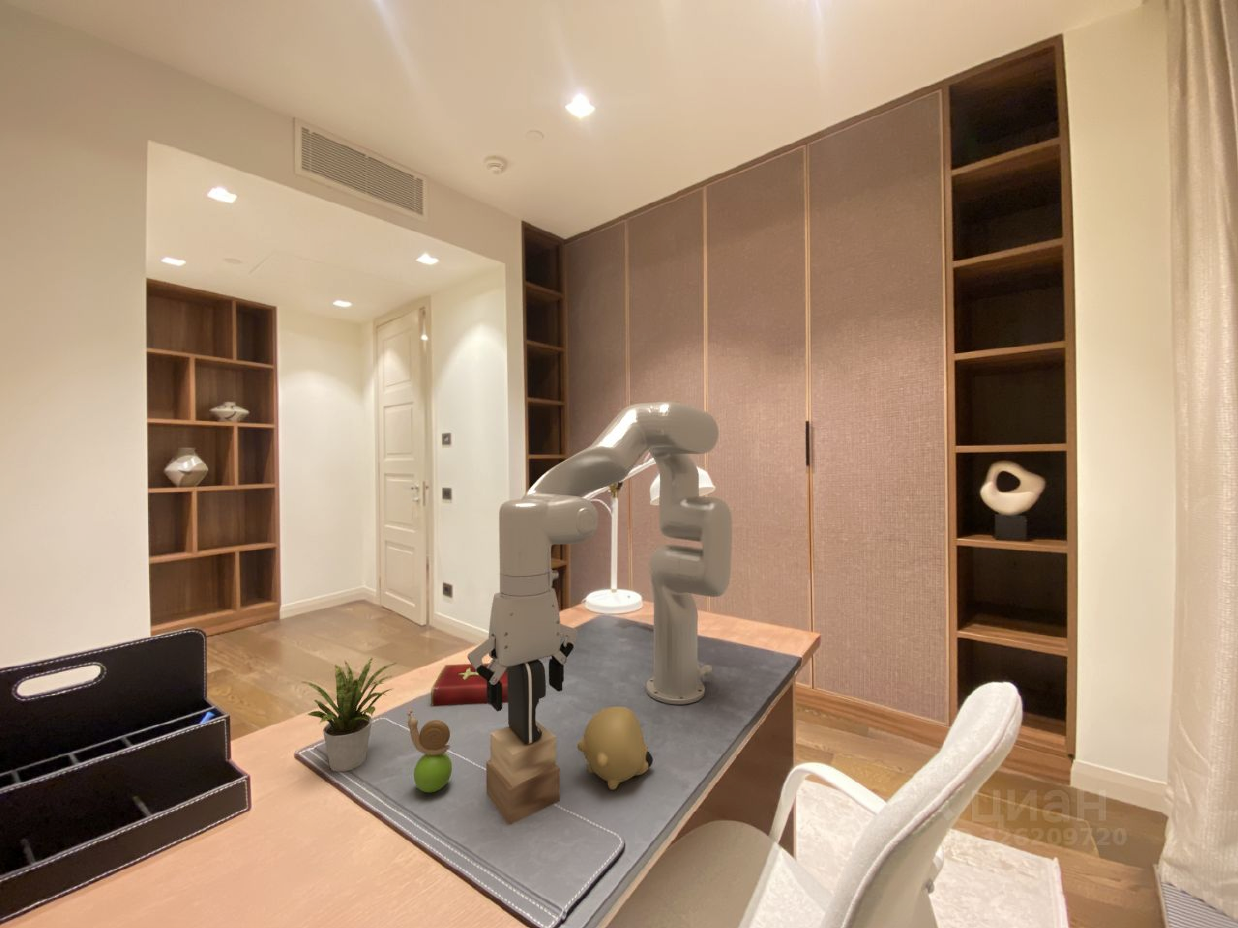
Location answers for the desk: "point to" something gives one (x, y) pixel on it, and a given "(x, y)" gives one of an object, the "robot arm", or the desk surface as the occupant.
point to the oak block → (521, 755)
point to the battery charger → (525, 698)
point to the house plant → (348, 718)
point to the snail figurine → (431, 754)
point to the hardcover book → (463, 686)
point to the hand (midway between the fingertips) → (526, 697)
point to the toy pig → (615, 746)
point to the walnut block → (522, 793)
